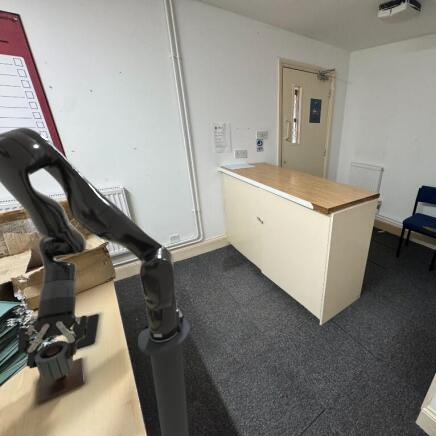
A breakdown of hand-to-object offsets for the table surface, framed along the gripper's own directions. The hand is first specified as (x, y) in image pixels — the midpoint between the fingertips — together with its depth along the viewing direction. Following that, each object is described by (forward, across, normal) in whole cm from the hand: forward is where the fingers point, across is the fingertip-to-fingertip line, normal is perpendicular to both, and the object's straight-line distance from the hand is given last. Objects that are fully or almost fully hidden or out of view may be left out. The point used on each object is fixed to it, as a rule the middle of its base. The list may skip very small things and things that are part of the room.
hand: (52, 362), depth 62 cm
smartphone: (-7, +1, +21) cm, 22 cm away
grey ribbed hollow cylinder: (+2, 0, +4) cm, 5 cm away
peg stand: (+5, 0, +7) cm, 9 cm away
